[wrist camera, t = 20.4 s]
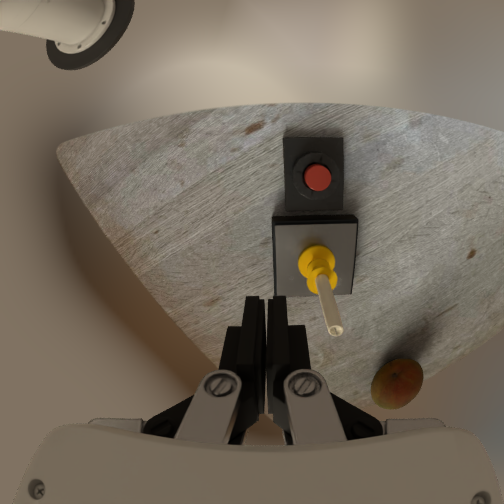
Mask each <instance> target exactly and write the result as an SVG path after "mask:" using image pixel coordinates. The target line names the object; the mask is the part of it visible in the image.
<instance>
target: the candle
mask: <svg viewBox="0 0 504 504" xmlns="http://www.w3.org/2000/svg"><path fill="white" fill-rule="evenodd" d="M298 266H299V270H300V272H301V274H302V275H303V276H304V277H306V278H307V286H308V288H309V290H310V291H311V292H313V293H315V294H318V295H319V299H320V302H321V306H322V310H323V314H324V318H325V322H326V325H327V328H328V331H329V333H330V334H331V335H333V336H339V335H341V334H342V333H343V331H344V329H343V326H342V321H341V318H340V314H339V311H338V308H337V304H336V301H335V298H334V295H333V291H332V290H333V289H334V288H335V286H336V284H337V275H336V273H335V272H334V271H333V269H334V267H335V258H334V255H333V253H332V252H331V251H330V250H329V249H328V248H326V247H324V246H320V245H315V246H311V247H309V248H307V249H306V250H304V251H303V252H302V254H301V255H300V257H299V260H298Z"/></svg>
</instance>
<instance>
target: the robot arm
mask: <svg viewBox="0 0 504 504" xmlns="http://www.w3.org/2000/svg"><path fill="white" fill-rule="evenodd" d="M115 8H116V6H115V0H0V30H2V31H9V32H15V33H21V34H26V35H31V36H36V37H40V38H45V39H49V40H53V41H55V44H56V46H57V48H58V49H59V50H60V51H62V52H64V53H68V54H75V53H79V52H81V51H84V50H86V49H87V48H89V47H90V46H92V45H93V44H94V43H95V42H97V41H98V40H99V39H100V38H101V36H102V35H103V34H104V33H105V32H106V30H107V29H108V27H109V25H110V24H111V22H112V20H113V17H114V14H115ZM266 376H267V396H268V414H273V422H274V423H275V424H277V425H278V426H279V427H281V428H282V429H283V438H284V443H285V446H248V445H245V442H246V439H247V435H248V428H249V427H250V426H252V425H253V424H254V423H256V421H258V420H259V414H264V405H265V382H266ZM12 504H504V502H503V498H502V494H501V490H500V487H499V483H498V479H497V477H496V474H495V471H494V468H493V466H492V463H491V461H490V458H489V456H488V454H487V452H486V450H485V448H484V447H483V445H482V443H481V442H480V440H479V439H478V438H477V437H476V436H475V435H474V434H473V433H472V432H470V431H468V430H465V429H461V428H454V427H446V426H445V424H444V423H443V422H442V421H440V420H438V419H434V418H422V419H387V420H386V421H379V420H377V419H376V418H375V417H373V416H371V415H369V414H367V413H366V412H364V411H362V410H360V409H359V408H357V407H355V406H353V405H351V404H350V403H348V402H346V401H345V400H343V399H341V398H339V397H338V396H336V395H334V394H333V393H331V392H330V391H329V388H328V386H327V383H326V380H325V379H324V377H323V376H322V375H321V374H320V373H319V372H316V371H314V370H311V366H310V358H309V350H308V343H307V335H306V328H305V325H288V319H287V304H286V295H280V296H273V299H268V320H267V345H266V324H265V304H264V299H259V296H246V300H245V307H244V313H243V320H242V326H228V328H227V332H226V337H225V341H224V346H223V351H222V356H221V360H220V365H219V370H216V371H213V372H210V373H208V374H207V375H206V376H204V377H203V379H202V380H201V382H200V384H199V386H198V388H197V390H196V392H195V395H193V396H191V397H189V398H187V399H185V400H184V401H182V402H180V403H178V404H176V405H175V406H173V407H171V408H169V409H167V410H166V411H163V412H161V413H160V414H158V415H156V416H154V417H152V418H151V419H149V420H148V421H143V420H142V419H115V418H96V419H93V420H92V421H90V422H89V423H88V424H68V425H63V426H59V427H57V428H55V429H53V430H52V431H51V432H50V433H49V434H48V435H47V436H46V437H45V438H44V440H43V441H42V443H41V444H40V445H39V447H38V449H37V451H36V452H35V454H34V456H33V458H32V460H31V462H30V464H29V465H28V467H27V469H26V472H25V474H24V476H23V478H22V481H21V483H20V486H19V488H18V491H17V493H16V496H15V498H14V501H13V503H12Z"/></svg>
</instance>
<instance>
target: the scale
mask: <svg viewBox="0 0 504 504" xmlns="http://www.w3.org/2000/svg"><path fill="white" fill-rule="evenodd" d="M357 235H358V218H357V217H356V216H355V215H302V216H272V241H273V268H274V296H280V295H286V297H306V296H319V295H318V294H315V293H313V292H311V291H310V290H309V288H308V286H307V278H306V277H304V276H303V275H302V274H301V272H300V270H299V266H298V260H299V257H300V255H301V254H302V252H303V251H304V250H306V249H307V248H309V247H311V246H315V245H320V246H324V247H326V248H328V249H329V250H330V251H331V252H332V253H333V255H334V258H335V267H334V269H333V271H334V272H335V273H336V275H337V284H336V286H335V288H334V289H333V290H332V291H333V295H345V294H352V287H353V278H354V269H355V259H356V247H357Z"/></svg>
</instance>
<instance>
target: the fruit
mask: <svg viewBox="0 0 504 504" xmlns="http://www.w3.org/2000/svg"><path fill="white" fill-rule="evenodd" d="M422 382H423V370H422V368H421V366H420V364H419V363H418V362H417V361H415V360H412V359H396V360H393V361H391V362H389V363H387V364H386V365H384V366H383V367H382V368H381V369H380V370H379V371H378V372H377V373H376V375H375V376H374V378H373V381H372V385H371V395H372V399H373V401H374V402H375V403H376V404H377V405H378V406H379V407H382V408H384V409H398V408H401V407H403V406H405V405H406V404H408V403H409V402H410V401H411V400H412V399H414V398H415V397H416V395H417V394H418V392H419V391H420V388H421V386H422Z"/></svg>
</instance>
